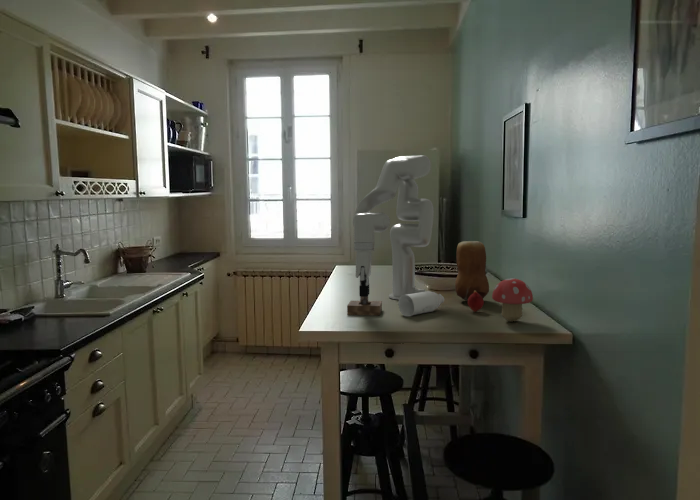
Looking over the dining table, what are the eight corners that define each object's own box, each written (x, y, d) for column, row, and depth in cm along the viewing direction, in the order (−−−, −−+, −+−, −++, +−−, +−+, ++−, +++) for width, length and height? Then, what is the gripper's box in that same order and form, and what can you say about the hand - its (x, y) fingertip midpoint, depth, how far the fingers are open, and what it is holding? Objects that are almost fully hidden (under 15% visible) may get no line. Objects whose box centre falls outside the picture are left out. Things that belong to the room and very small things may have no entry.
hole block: (381, 310, 199) (381, 301, 199) (379, 315, 191) (379, 306, 190) (350, 309, 201) (350, 300, 201) (347, 314, 192) (347, 305, 192)
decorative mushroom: (504, 315, 189) (505, 274, 187) (539, 321, 179) (540, 278, 177) (483, 321, 180) (484, 278, 178) (519, 328, 170) (520, 283, 168)
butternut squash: (471, 296, 223) (472, 238, 220) (495, 302, 212) (496, 240, 209) (447, 300, 215) (447, 240, 212) (471, 306, 204) (472, 242, 201)
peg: (368, 302, 197) (368, 276, 196) (367, 304, 194) (367, 277, 193) (360, 302, 197) (360, 276, 196) (359, 304, 194) (359, 277, 193)
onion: (484, 310, 196) (484, 289, 196) (482, 314, 191) (483, 292, 190) (468, 309, 198) (468, 289, 197) (466, 313, 193) (466, 291, 192)
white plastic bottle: (448, 311, 197) (449, 290, 196) (413, 318, 186) (413, 296, 185) (433, 307, 203) (433, 287, 202) (397, 314, 192) (397, 293, 191)
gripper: (357, 244, 202) (357, 291, 204) (351, 248, 186) (351, 299, 187) (376, 244, 201) (376, 292, 202) (371, 248, 185) (372, 300, 186)
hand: (364, 295), depth 195 cm, fingers closed on peg, 3 cm apart
